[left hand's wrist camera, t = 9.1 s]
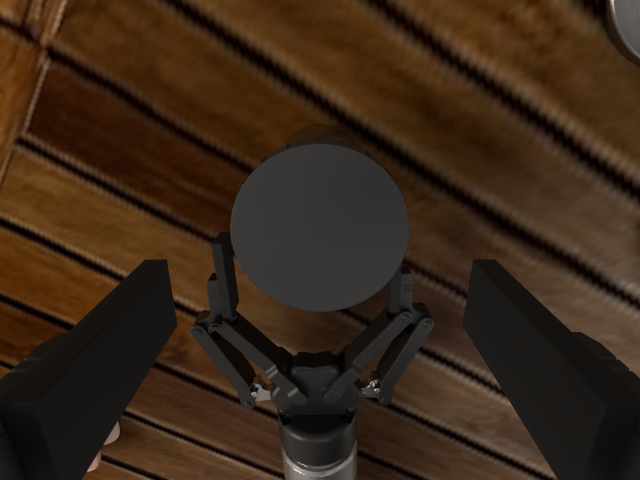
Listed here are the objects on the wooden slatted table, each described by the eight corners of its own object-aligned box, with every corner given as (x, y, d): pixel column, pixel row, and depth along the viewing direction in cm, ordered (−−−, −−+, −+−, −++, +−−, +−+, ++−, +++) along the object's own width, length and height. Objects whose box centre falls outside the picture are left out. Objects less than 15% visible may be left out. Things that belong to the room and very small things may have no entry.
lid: (326, 318, 24) (326, 340, 21) (206, 227, 21) (194, 242, 19) (434, 214, 21) (447, 227, 19) (312, 98, 19) (311, 99, 17)
